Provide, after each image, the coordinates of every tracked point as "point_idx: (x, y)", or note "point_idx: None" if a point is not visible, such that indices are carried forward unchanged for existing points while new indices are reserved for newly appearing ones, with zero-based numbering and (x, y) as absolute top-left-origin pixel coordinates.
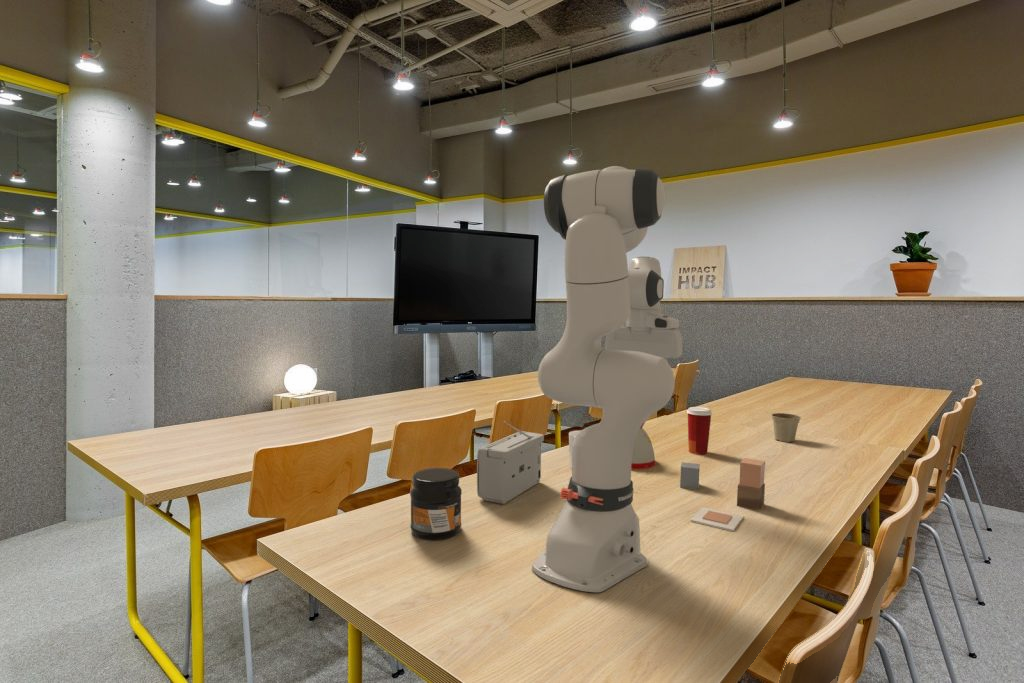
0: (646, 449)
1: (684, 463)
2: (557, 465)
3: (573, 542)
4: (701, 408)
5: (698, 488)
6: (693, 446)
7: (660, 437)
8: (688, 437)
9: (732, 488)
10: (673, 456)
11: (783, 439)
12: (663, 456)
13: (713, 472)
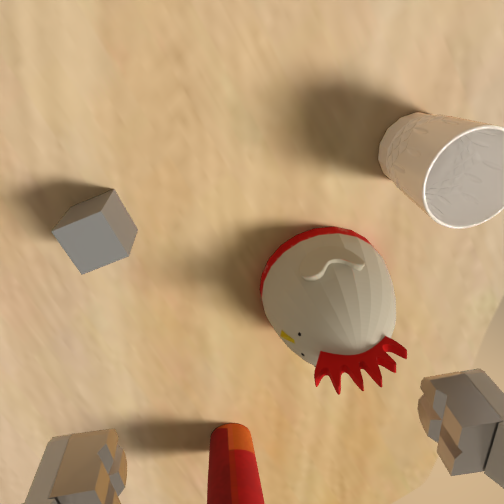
0: (278, 301)
1: (115, 249)
2: (483, 116)
3: None
4: None
5: (70, 208)
6: (233, 437)
7: (345, 467)
8: (252, 457)
9: (20, 273)
10: (258, 381)
11: None
12: (276, 368)
13: (125, 344)
